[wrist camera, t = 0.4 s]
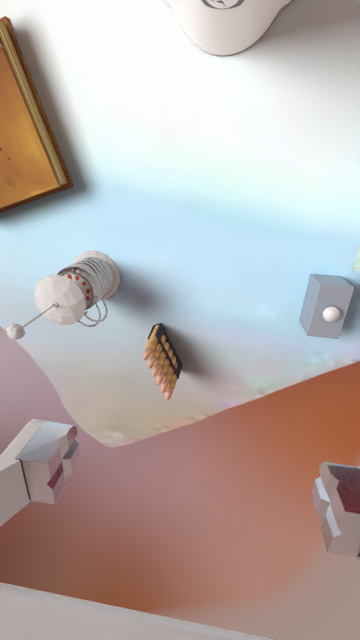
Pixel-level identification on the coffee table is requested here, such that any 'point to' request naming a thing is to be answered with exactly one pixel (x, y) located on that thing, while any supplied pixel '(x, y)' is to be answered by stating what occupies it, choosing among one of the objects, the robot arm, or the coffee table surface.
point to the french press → (74, 291)
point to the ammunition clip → (162, 359)
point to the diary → (24, 133)
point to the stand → (357, 261)
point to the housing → (325, 305)
